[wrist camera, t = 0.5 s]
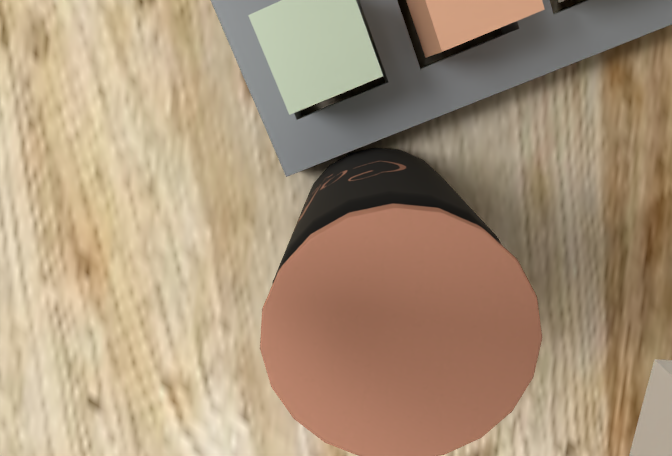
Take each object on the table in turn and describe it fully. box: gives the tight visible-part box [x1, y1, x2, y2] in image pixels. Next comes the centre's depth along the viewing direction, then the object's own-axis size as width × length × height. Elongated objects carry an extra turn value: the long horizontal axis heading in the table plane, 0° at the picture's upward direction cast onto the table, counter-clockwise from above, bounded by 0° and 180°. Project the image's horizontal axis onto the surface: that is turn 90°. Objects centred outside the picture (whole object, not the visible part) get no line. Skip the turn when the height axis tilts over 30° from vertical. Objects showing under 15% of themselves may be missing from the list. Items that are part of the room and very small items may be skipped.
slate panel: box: [211, 0, 672, 177], centre depth 31 cm, size 12×26×4 cm, turn 112°
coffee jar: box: [260, 148, 542, 456], centre depth 28 cm, size 11×11×18 cm
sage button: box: [248, 0, 383, 115], centre depth 27 cm, size 5×5×6 cm
